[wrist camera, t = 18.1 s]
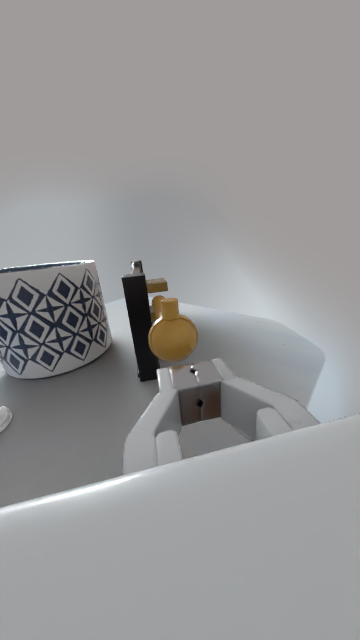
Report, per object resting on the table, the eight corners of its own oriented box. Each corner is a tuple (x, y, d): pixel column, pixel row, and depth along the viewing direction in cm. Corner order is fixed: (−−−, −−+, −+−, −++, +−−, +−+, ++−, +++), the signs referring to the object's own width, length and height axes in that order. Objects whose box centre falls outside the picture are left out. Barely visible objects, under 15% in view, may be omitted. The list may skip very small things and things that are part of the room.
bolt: (146, 318, 22) (140, 280, 20) (175, 314, 22) (171, 276, 21) (153, 377, 12) (143, 310, 10) (204, 367, 12) (202, 302, 11)
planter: (96, 326, 45) (80, 260, 40) (127, 350, 33) (109, 260, 28) (6, 353, 36) (-30, 271, 30) (5, 400, 24) (-55, 279, 19)
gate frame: (138, 313, 52) (129, 261, 47) (156, 310, 52) (150, 259, 48) (138, 383, 25) (118, 278, 20) (176, 376, 25) (166, 273, 21)
